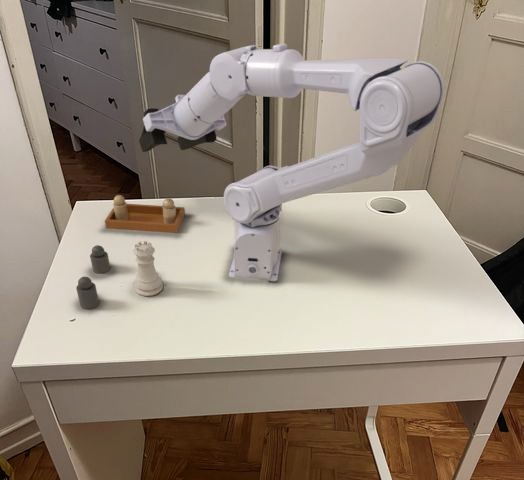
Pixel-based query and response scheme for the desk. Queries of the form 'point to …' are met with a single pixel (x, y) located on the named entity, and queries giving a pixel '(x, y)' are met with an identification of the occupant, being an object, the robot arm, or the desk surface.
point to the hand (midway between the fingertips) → (162, 145)
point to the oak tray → (145, 219)
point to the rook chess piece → (146, 271)
